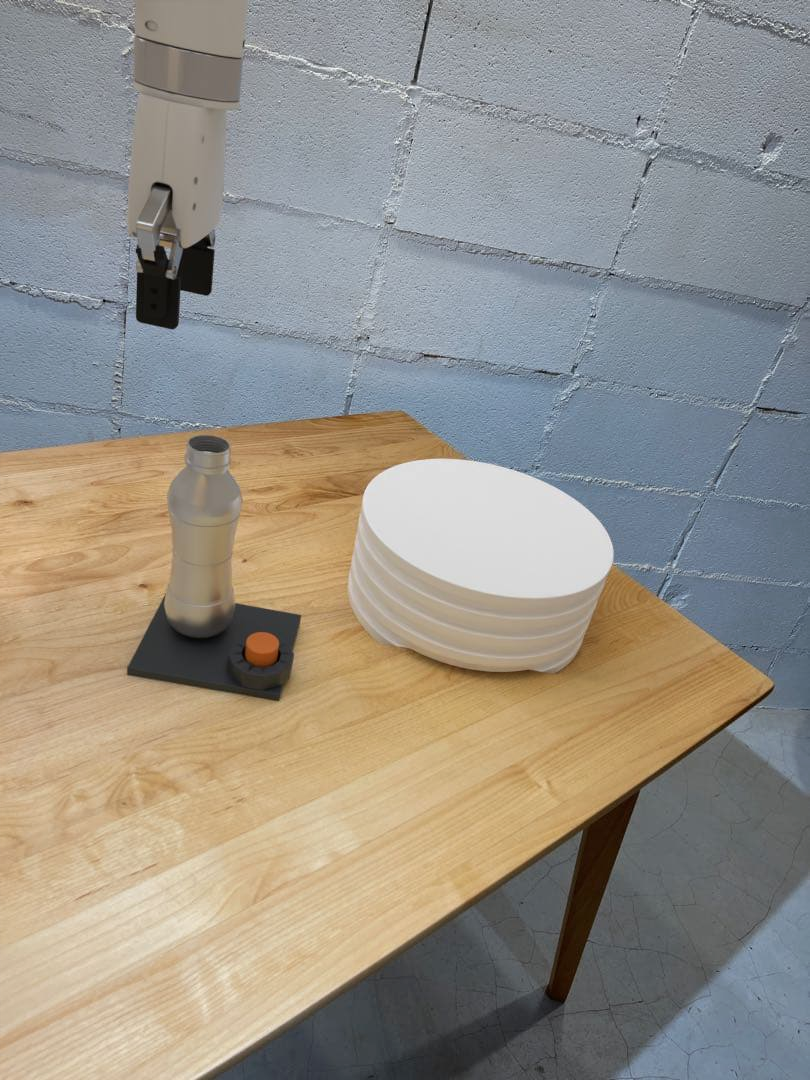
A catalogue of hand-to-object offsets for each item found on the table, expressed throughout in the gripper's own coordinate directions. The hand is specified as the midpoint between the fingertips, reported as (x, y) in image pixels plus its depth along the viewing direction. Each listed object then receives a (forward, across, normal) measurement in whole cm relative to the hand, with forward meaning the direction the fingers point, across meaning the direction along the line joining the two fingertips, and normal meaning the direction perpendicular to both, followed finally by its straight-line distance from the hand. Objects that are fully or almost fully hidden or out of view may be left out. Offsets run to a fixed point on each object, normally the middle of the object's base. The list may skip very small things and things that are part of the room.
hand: (176, 307), depth 68 cm
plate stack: (+32, -11, +32) cm, 47 cm away
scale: (+32, +6, +8) cm, 33 cm away
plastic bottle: (+30, +4, +5) cm, 31 cm away
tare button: (+28, +9, +12) cm, 32 cm away
